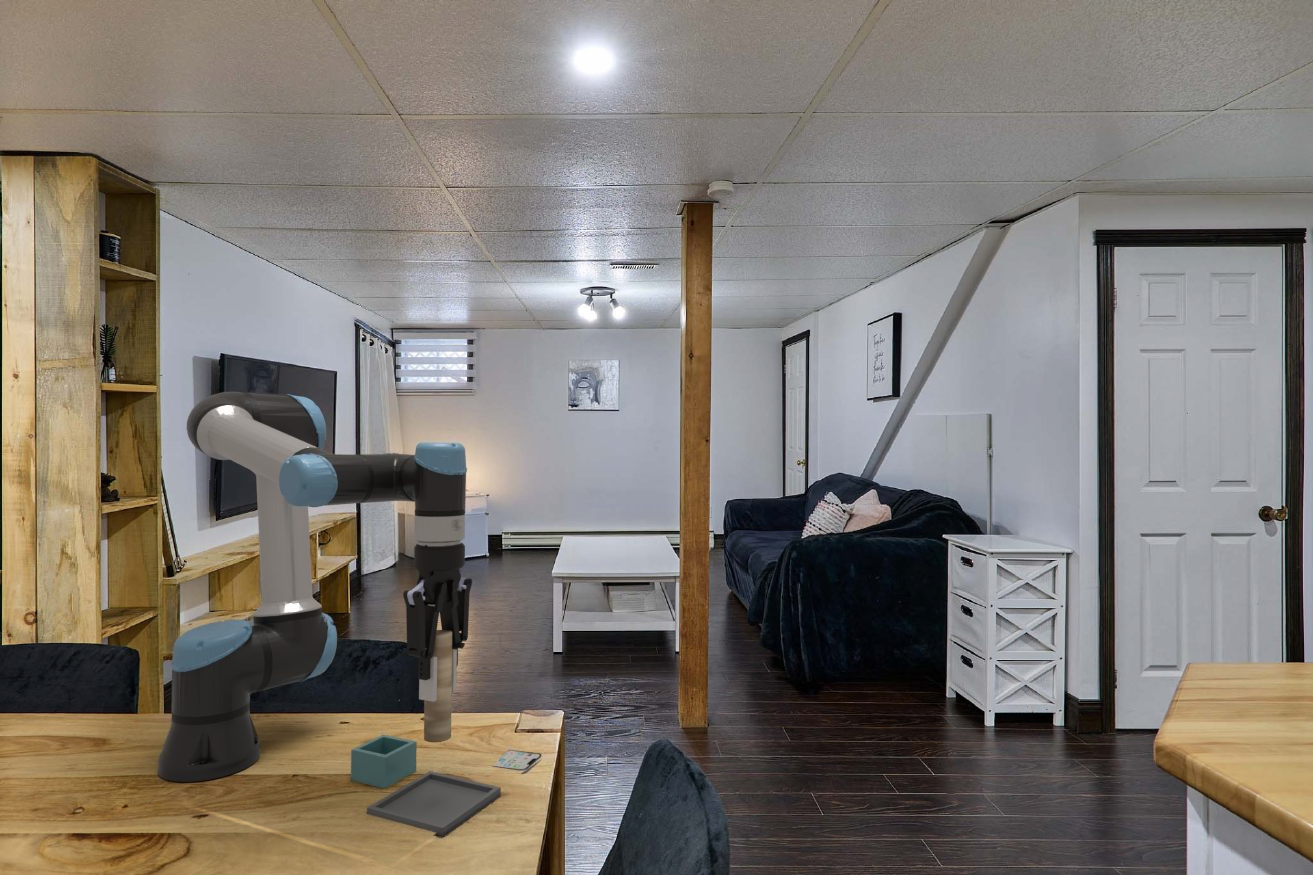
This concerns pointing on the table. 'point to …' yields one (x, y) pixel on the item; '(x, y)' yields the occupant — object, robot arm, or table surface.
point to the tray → (436, 802)
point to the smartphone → (518, 760)
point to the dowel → (440, 692)
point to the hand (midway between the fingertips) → (438, 694)
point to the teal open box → (383, 761)
